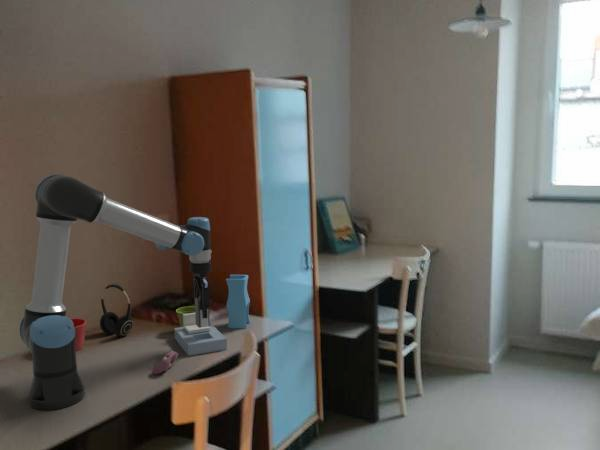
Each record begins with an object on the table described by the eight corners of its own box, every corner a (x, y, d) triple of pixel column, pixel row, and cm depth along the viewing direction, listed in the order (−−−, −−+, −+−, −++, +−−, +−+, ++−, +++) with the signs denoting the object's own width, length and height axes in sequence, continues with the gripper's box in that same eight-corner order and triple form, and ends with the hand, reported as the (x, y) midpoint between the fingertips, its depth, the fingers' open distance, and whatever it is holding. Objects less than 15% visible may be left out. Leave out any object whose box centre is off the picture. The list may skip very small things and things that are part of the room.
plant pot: (206, 329, 229) (205, 308, 228) (189, 336, 221) (188, 314, 220) (188, 325, 234) (187, 305, 233) (171, 332, 226) (170, 310, 225)
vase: (231, 321, 239) (230, 274, 236) (250, 322, 238) (249, 274, 235) (227, 328, 231) (225, 279, 228) (246, 328, 230) (245, 279, 227)
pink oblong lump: (162, 380, 185) (171, 362, 184) (150, 373, 186) (158, 355, 184) (174, 368, 195) (182, 351, 193) (162, 361, 195) (170, 344, 194)
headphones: (111, 328, 231) (108, 280, 228) (139, 334, 224) (137, 284, 221) (94, 335, 224) (91, 284, 221) (123, 341, 217) (120, 289, 214)
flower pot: (62, 356, 202) (60, 329, 201) (51, 348, 210) (49, 322, 209) (92, 349, 209) (90, 323, 207) (80, 341, 217) (79, 316, 216)
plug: (198, 327, 206) (197, 297, 204) (195, 324, 210) (194, 295, 208) (209, 326, 208) (208, 296, 206) (206, 322, 211) (205, 293, 210)
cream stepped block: (188, 334, 211) (188, 320, 211) (183, 327, 218) (182, 314, 218) (210, 330, 215) (209, 317, 214) (204, 324, 222) (203, 311, 221)
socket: (188, 355, 202) (188, 344, 201) (174, 338, 219) (174, 328, 219) (226, 349, 208) (226, 338, 207) (210, 332, 225) (210, 323, 225)
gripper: (217, 264, 199) (220, 329, 203) (203, 255, 214) (206, 316, 218) (196, 266, 196) (199, 333, 200) (183, 257, 211) (186, 319, 215)
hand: (202, 324), depth 209 cm, fingers closed on plug, 4 cm apart
